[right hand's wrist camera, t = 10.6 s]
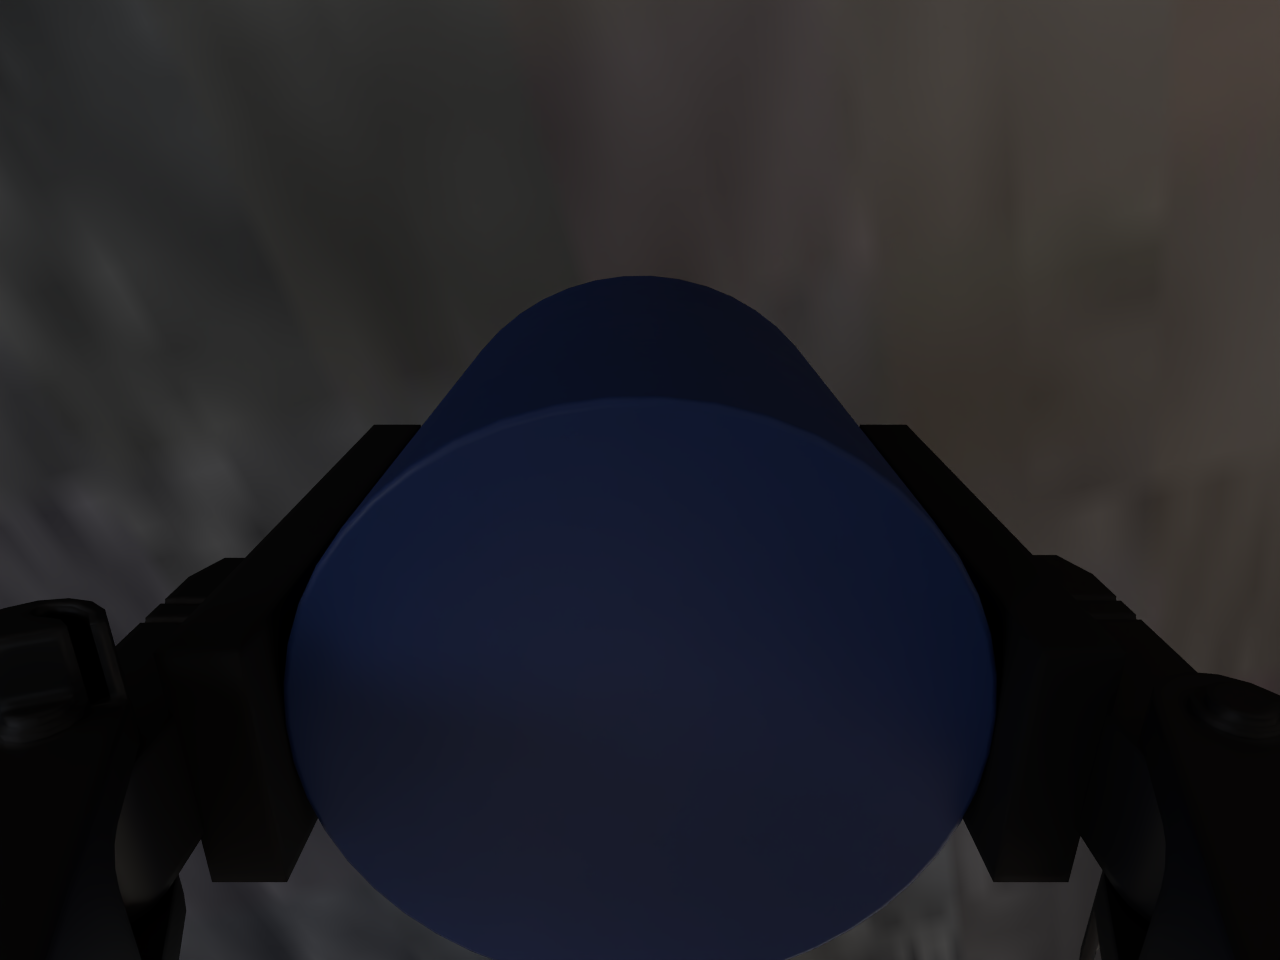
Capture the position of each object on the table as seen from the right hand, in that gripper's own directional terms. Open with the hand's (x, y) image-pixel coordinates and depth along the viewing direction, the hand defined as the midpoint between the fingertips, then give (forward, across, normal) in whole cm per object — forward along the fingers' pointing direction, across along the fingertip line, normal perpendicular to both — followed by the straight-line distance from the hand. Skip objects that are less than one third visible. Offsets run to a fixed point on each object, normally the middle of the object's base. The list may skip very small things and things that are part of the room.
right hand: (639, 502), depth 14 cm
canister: (+1, 0, 0) cm, 1 cm away
